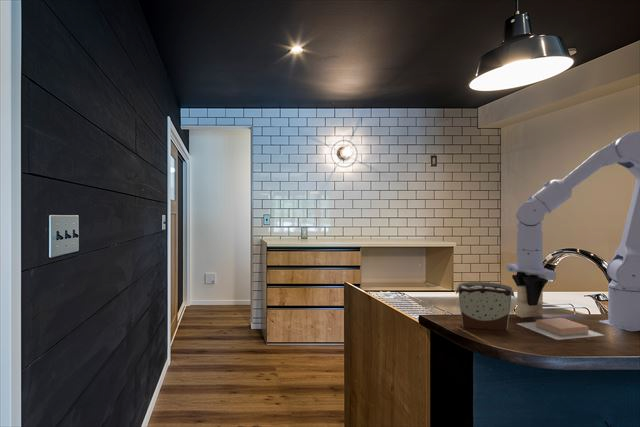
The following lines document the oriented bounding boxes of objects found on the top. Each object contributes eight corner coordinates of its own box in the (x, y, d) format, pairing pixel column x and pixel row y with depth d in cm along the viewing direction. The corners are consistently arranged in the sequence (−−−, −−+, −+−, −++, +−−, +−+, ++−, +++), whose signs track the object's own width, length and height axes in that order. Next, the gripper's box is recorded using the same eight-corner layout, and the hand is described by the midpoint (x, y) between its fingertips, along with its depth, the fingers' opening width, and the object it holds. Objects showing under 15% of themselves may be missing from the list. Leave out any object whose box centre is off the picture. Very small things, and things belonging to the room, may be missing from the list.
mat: (559, 322, 97) (559, 320, 97) (604, 337, 85) (604, 335, 85) (515, 325, 94) (515, 323, 94) (556, 342, 82) (556, 339, 82)
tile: (561, 317, 93) (588, 326, 86) (561, 324, 93) (588, 333, 86) (536, 319, 91) (560, 328, 84) (536, 326, 91) (560, 336, 85)
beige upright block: (537, 316, 102) (537, 284, 102) (542, 318, 101) (542, 286, 101) (517, 317, 101) (517, 286, 101) (521, 319, 99) (521, 287, 99)
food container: (509, 325, 95) (509, 282, 94) (514, 333, 89) (514, 287, 89) (454, 321, 98) (454, 280, 98) (455, 328, 92) (455, 285, 92)
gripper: (496, 247, 107) (496, 298, 107) (537, 253, 93) (537, 312, 93) (519, 246, 108) (519, 297, 108) (563, 252, 94) (563, 310, 94)
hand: (529, 304), depth 101 cm, fingers closed on beige upright block, 2 cm apart
